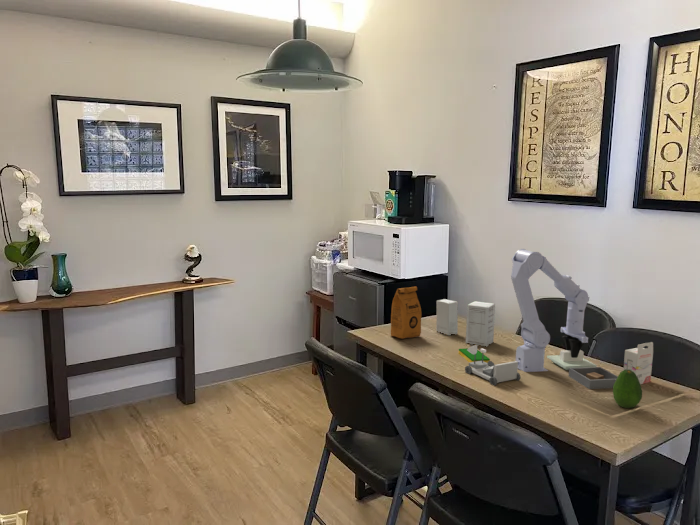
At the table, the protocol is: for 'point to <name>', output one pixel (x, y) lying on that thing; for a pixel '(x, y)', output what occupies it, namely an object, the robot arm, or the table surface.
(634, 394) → the avocado
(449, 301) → the skincare box
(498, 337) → the table surface
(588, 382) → the storage box
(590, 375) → the walnut block
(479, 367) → the toy car
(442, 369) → the table surface
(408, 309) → the coffee package
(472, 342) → the supplement box
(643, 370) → the ink cartridge box
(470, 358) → the dish sponge
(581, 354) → the lid
